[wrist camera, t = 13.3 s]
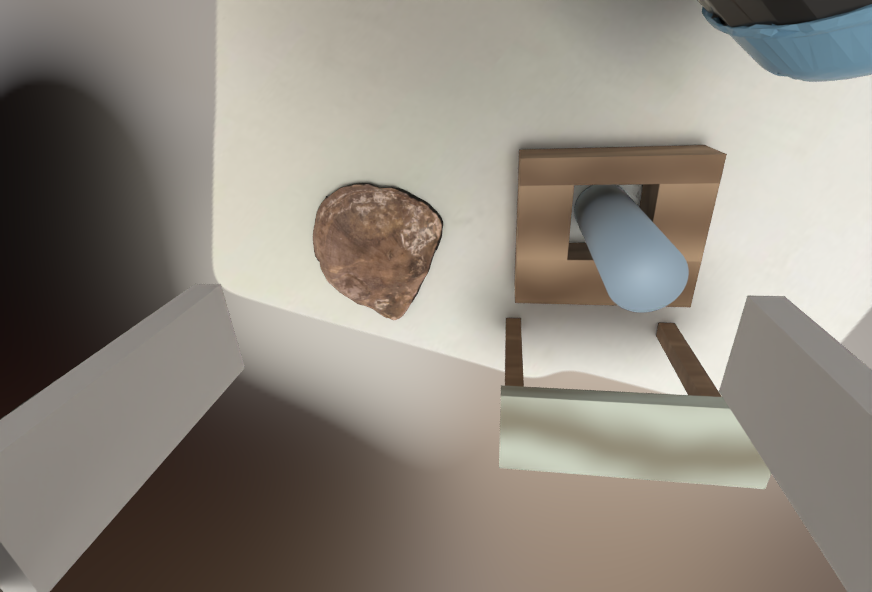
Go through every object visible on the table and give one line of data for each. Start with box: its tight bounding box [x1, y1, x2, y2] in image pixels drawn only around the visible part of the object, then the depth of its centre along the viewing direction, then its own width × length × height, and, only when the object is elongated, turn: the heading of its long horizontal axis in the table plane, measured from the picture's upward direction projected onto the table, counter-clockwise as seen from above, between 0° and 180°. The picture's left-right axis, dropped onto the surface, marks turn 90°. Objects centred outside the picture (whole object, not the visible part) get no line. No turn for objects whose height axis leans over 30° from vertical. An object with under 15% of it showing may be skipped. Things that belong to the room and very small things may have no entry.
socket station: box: [499, 145, 771, 489], centre depth 32 cm, size 18×16×17 cm
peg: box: [574, 185, 689, 312], centre depth 32 cm, size 4×4×14 cm
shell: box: [313, 183, 443, 320], centre depth 41 cm, size 12×13×4 cm
